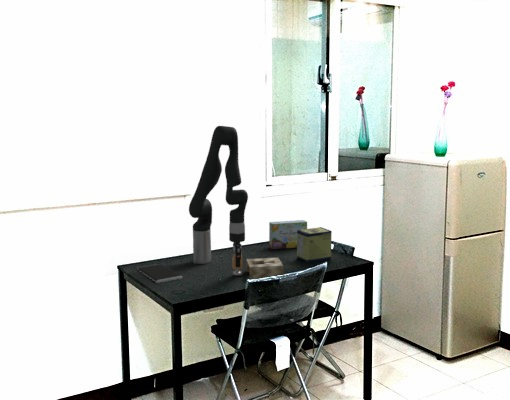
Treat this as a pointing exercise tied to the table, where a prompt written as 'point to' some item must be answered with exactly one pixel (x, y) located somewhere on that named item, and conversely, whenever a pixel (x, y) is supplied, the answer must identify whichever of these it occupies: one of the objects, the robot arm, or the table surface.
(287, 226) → the snack box
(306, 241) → the protein box
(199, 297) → the table surface
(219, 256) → the table surface
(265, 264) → the shelf
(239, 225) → the robot arm
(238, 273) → the keyhole peg
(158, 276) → the smartphone
